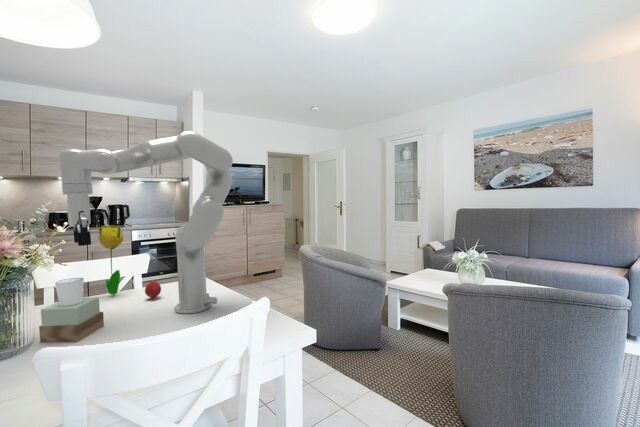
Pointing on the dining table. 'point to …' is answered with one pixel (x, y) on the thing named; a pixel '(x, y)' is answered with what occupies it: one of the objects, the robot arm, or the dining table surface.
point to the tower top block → (70, 313)
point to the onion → (153, 289)
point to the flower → (110, 240)
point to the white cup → (70, 291)
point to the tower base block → (71, 330)
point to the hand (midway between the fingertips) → (82, 243)
